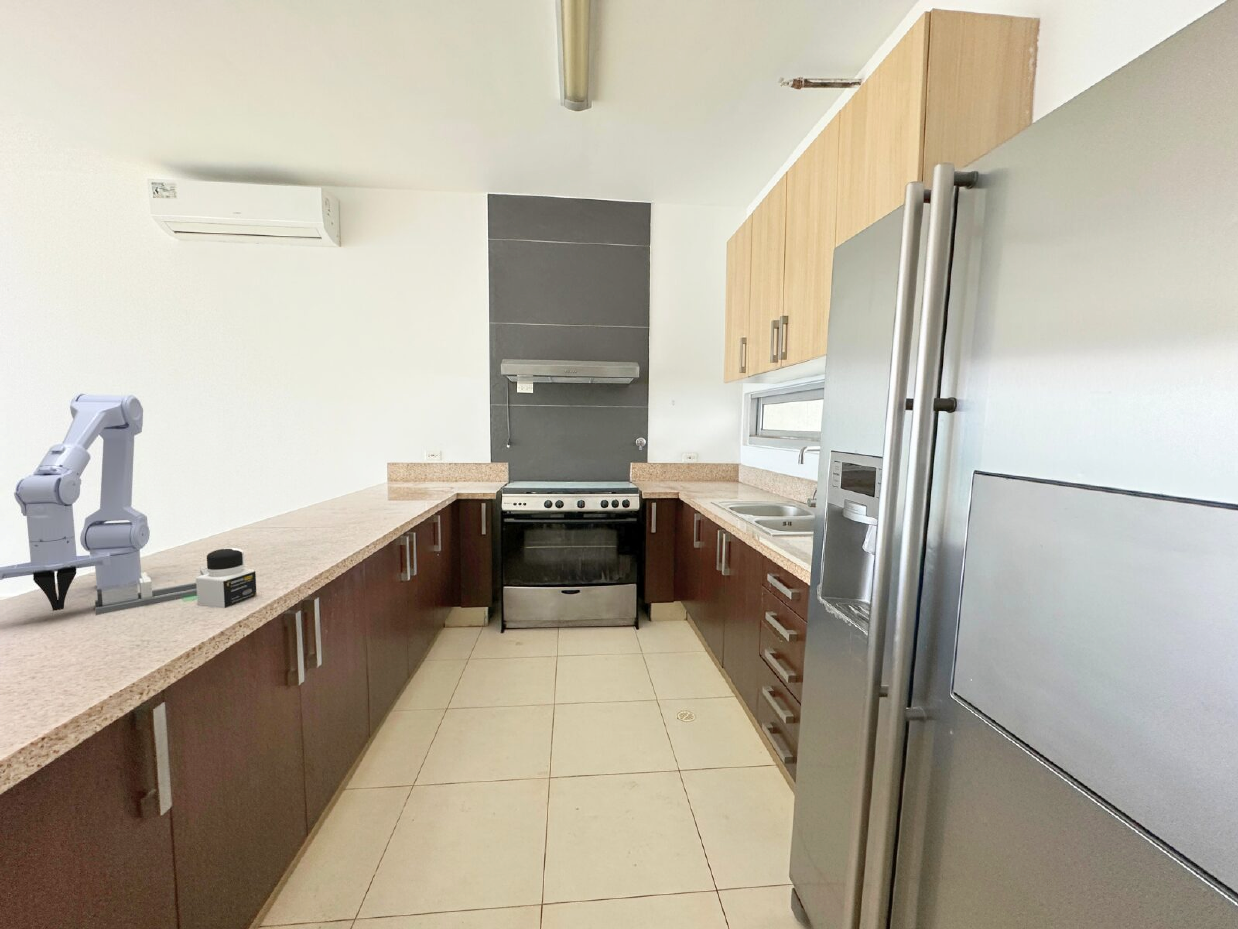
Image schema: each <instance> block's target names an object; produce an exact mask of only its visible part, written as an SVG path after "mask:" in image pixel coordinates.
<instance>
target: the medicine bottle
mask: <svg viewBox="0 0 1238 929" xmlns="http://www.w3.org/2000/svg"><path fill="white" fill-rule="evenodd" d="M244 552H245V551H244V550H243V549H241V548H236V547H230V548H220V549H216V550H214V551H213V550H212V551H211V552H209V553H208V554H207V555H206V566H207V571H208V574H205V575H201V574H200V575H199V576H196V577H195V581H196V582H195V583H196V586H197V599H196V600H197V605H198V606H203V607H205V606H207V607H213V608H214V607H215V608H223V609H224V608H229V607H232V606H234V605H237V604H239V603H242V602H245V601H248V600H250V599H253V598H256V597H257V596H258V594H257V577H256V574H257V573H256V569H250V568H245V555H244Z"/></svg>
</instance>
